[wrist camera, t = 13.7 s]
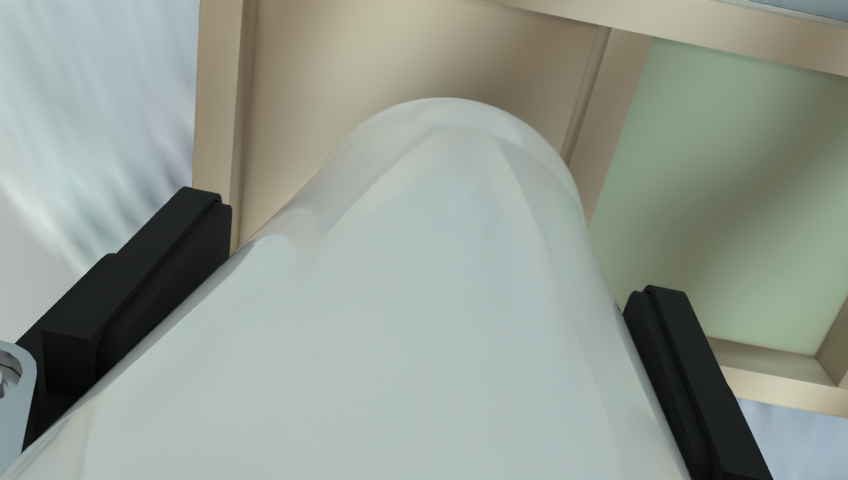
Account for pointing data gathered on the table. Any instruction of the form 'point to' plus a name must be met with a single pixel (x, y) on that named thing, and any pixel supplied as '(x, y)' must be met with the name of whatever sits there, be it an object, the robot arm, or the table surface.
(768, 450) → the table surface
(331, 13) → the wooden compartment tray
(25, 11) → the table surface
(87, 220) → the table surface
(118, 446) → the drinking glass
